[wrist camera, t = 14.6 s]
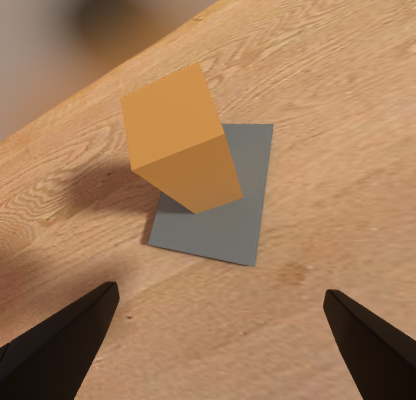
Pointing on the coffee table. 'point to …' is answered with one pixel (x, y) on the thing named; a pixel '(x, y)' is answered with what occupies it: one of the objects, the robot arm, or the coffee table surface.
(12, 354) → the robot arm
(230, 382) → the coffee table surface
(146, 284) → the coffee table surface
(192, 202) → the tall amber pillar
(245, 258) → the post board
